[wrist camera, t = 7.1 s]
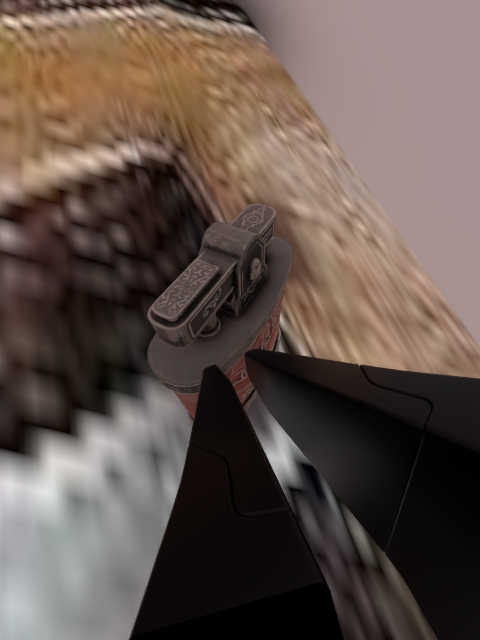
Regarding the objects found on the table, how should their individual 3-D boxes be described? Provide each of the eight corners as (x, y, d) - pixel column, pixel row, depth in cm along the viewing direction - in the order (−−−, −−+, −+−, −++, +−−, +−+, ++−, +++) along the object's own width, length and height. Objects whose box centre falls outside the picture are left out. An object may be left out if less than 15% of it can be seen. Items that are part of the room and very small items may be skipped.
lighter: (246, 316, 19) (241, 170, 10) (290, 335, 18) (322, 189, 9) (177, 417, 15) (82, 310, 7) (228, 450, 14) (190, 370, 5)
